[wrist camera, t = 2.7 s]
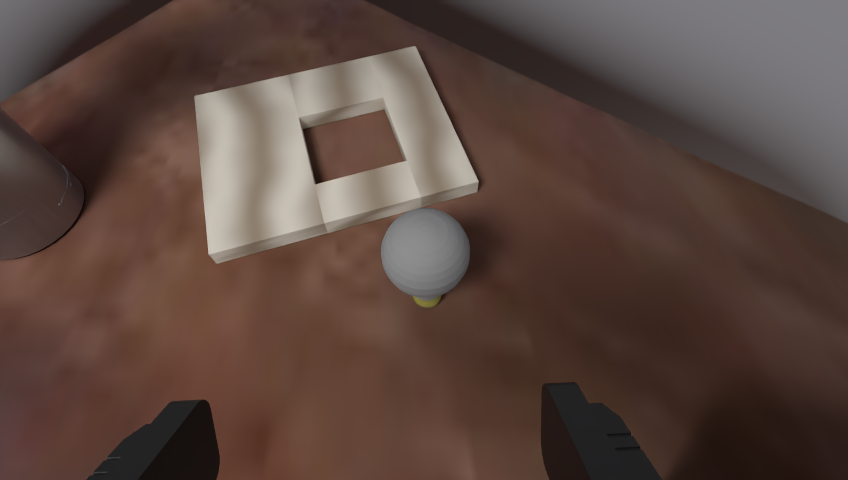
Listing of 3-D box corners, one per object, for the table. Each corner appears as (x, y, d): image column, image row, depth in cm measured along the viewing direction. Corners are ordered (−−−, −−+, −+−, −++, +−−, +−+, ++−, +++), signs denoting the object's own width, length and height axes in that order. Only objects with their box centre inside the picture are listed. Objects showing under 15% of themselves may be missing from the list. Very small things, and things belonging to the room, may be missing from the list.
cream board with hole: (216, 263, 37) (208, 254, 36) (201, 107, 46) (194, 96, 44) (477, 192, 40) (478, 181, 38) (415, 58, 48) (415, 46, 47)
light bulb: (455, 341, 33) (461, 282, 25) (382, 323, 34) (363, 260, 25) (470, 274, 36) (481, 200, 27) (402, 259, 37) (392, 182, 28)
